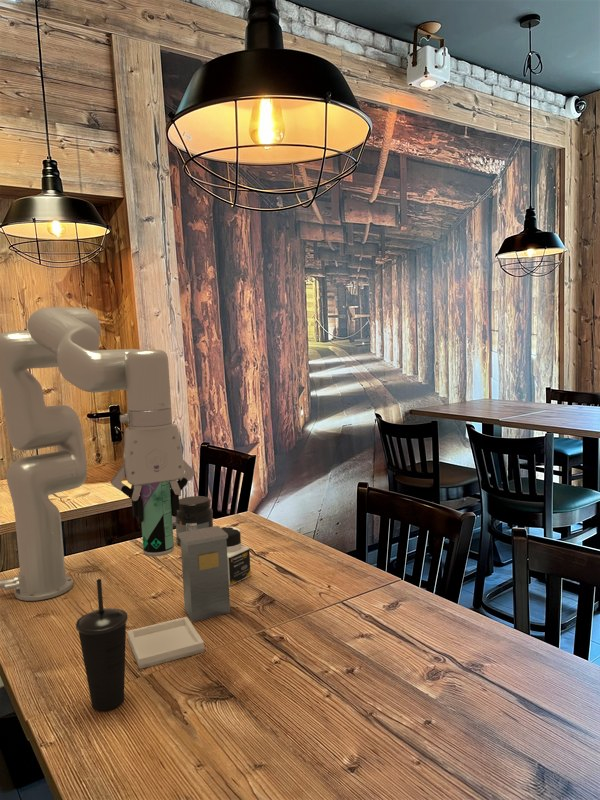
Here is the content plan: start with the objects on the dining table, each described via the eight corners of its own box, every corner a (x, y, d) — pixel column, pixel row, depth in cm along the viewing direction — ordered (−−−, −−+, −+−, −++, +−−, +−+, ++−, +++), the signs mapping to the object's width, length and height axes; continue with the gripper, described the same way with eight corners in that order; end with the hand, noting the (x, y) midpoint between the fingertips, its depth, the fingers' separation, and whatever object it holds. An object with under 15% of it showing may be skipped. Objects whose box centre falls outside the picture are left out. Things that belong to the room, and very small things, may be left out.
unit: (191, 623, 119) (186, 541, 117) (183, 610, 124) (178, 532, 123) (232, 613, 122) (228, 534, 121) (222, 601, 128) (218, 525, 126)
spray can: (153, 544, 112) (146, 440, 110) (179, 546, 110) (173, 440, 108) (137, 555, 107) (130, 445, 104) (164, 557, 105) (157, 446, 103)
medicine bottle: (230, 586, 136) (227, 535, 134) (208, 580, 140) (205, 530, 139) (251, 576, 141) (249, 527, 140) (229, 570, 146) (227, 522, 144)
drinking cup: (115, 682, 99) (106, 566, 97) (143, 698, 94) (134, 577, 92) (72, 705, 93) (62, 582, 91) (100, 724, 88) (90, 594, 86)
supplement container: (202, 533, 175) (200, 493, 174) (221, 541, 167) (218, 500, 166) (170, 541, 169) (167, 500, 167) (187, 551, 160) (184, 507, 159)
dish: (139, 669, 102) (138, 659, 102) (127, 639, 113) (127, 630, 113) (204, 651, 107) (203, 642, 107) (187, 625, 118) (187, 616, 118)
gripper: (103, 426, 99) (110, 531, 101) (202, 416, 106) (208, 515, 108) (97, 421, 106) (104, 520, 107) (191, 412, 113) (196, 505, 115)
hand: (156, 516), depth 108 cm, fingers closed on spray can, 5 cm apart
